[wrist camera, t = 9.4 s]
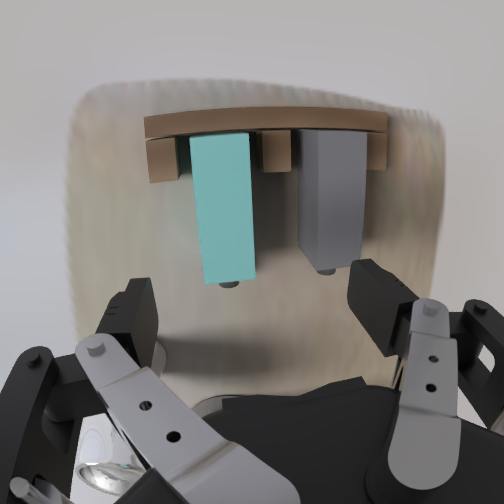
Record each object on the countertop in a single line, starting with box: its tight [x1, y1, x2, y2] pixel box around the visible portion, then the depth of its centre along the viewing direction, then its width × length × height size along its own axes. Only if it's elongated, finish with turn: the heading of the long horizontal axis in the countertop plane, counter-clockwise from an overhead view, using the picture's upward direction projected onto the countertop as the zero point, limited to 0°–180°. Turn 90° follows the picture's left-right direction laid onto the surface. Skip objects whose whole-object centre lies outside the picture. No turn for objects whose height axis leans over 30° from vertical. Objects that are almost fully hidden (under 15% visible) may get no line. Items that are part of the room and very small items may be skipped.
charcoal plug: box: [297, 128, 367, 275], centre depth 23 cm, size 12×4×5 cm, turn 3°
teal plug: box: [190, 131, 256, 288], centre depth 23 cm, size 12×4×5 cm, turn 2°
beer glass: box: [75, 340, 167, 497], centre depth 23 cm, size 7×7×15 cm
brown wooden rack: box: [144, 107, 387, 183], centre depth 22 cm, size 5×18×2 cm, turn 92°
